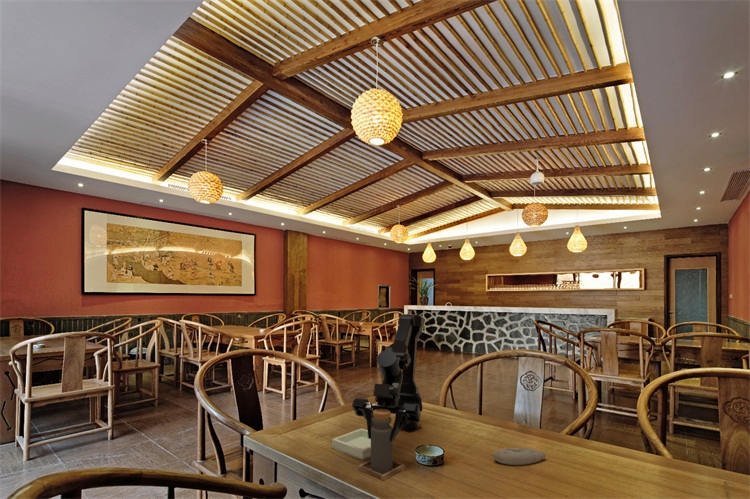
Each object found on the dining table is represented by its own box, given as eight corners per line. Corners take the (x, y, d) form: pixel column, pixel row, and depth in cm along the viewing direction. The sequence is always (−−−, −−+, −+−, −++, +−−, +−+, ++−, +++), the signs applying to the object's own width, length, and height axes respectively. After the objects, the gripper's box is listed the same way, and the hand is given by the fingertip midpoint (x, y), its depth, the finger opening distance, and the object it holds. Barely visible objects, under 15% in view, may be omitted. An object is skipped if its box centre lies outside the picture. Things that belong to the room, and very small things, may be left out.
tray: (361, 436, 132) (361, 428, 132) (392, 446, 123) (392, 438, 123) (331, 447, 122) (331, 439, 123) (362, 460, 114) (362, 451, 114)
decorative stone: (550, 464, 112) (550, 451, 112) (499, 469, 109) (498, 455, 110) (538, 455, 118) (537, 443, 118) (488, 459, 115) (488, 447, 116)
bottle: (390, 475, 105) (390, 415, 106) (368, 473, 106) (368, 413, 107) (394, 465, 111) (394, 408, 112) (373, 463, 112) (373, 407, 113)
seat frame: (380, 459, 115) (380, 455, 115) (405, 468, 109) (405, 464, 109) (357, 469, 108) (357, 465, 108) (383, 480, 102) (383, 476, 102)
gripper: (354, 368, 117) (339, 420, 106) (418, 373, 111) (409, 428, 100) (363, 390, 124) (350, 441, 112) (423, 395, 118) (416, 449, 107)
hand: (380, 439), depth 108 cm, fingers closed on bottle, 6 cm apart
